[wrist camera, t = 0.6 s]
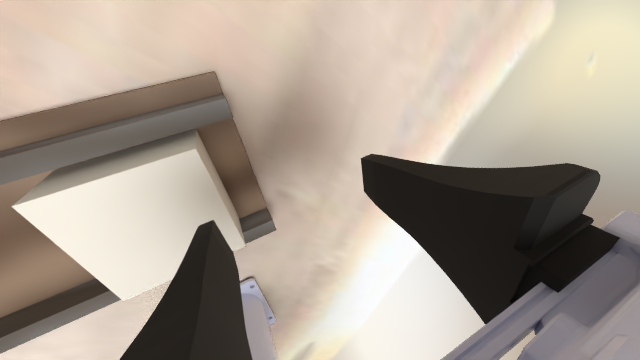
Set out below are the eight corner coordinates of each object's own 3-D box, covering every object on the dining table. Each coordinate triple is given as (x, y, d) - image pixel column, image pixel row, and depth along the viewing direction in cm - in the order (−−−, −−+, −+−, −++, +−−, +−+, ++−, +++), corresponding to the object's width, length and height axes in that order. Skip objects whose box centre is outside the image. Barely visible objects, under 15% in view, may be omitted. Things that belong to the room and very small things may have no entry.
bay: (271, 220, 23) (287, 255, 19) (-42, 356, 17) (-114, 450, 13) (213, 71, 16) (219, 78, 12) (-402, 214, 9) (-853, 338, 5)
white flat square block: (238, 215, 20) (246, 246, 17) (132, 258, 18) (118, 303, 15) (195, 128, 16) (195, 148, 13) (48, 171, 14) (2, 209, 10)
